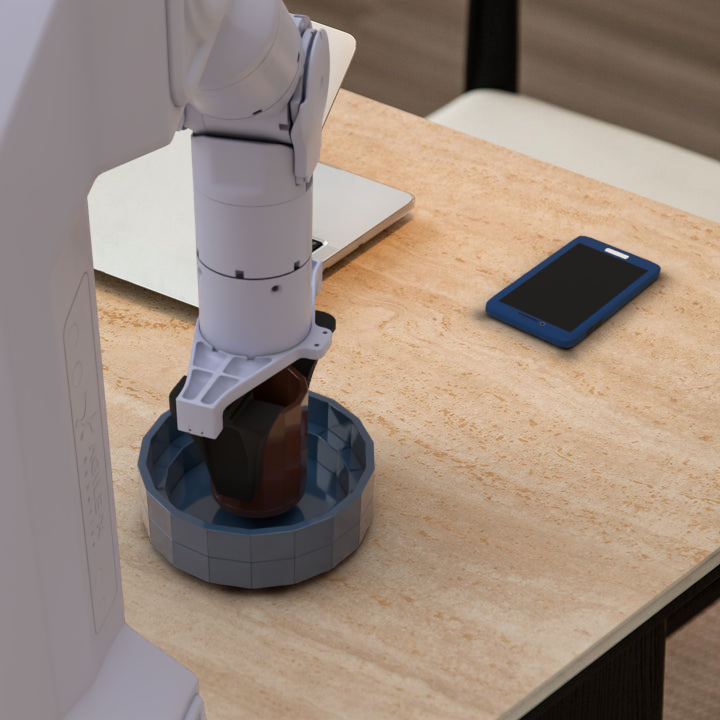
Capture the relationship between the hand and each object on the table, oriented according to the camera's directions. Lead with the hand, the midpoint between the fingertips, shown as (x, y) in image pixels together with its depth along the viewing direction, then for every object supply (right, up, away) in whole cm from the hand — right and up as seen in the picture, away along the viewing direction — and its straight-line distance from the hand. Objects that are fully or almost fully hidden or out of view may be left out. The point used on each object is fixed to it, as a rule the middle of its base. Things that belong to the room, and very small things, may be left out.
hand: (257, 460), depth 69 cm
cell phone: (+22, +10, +23) cm, 33 cm away
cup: (0, -2, +1) cm, 2 cm away
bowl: (0, -3, +2) cm, 4 cm away
